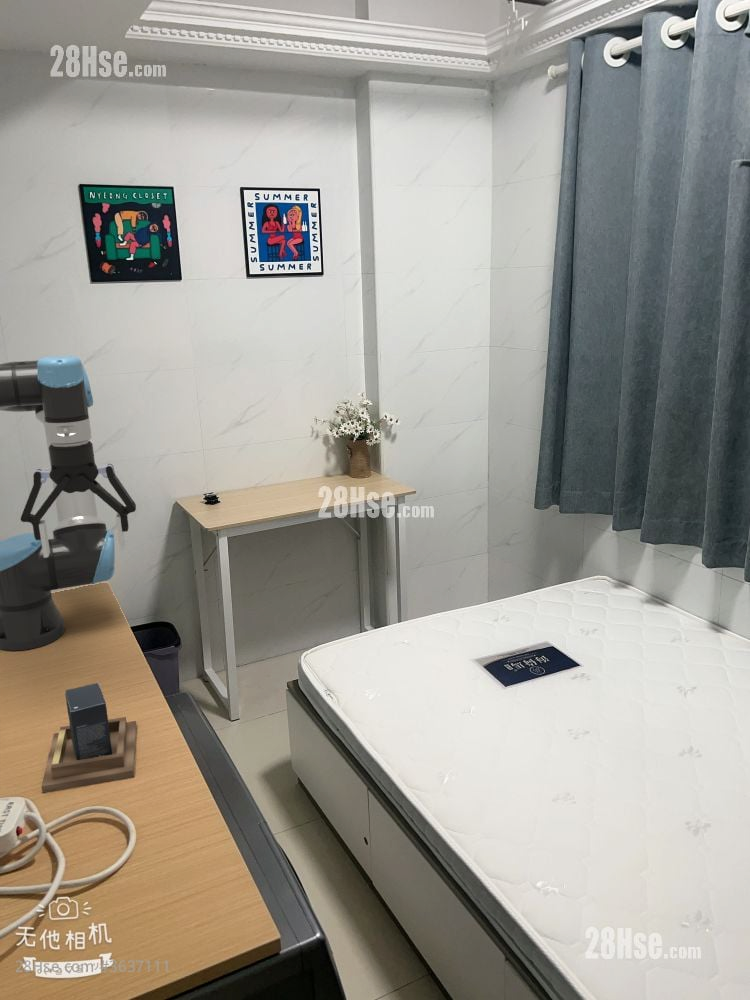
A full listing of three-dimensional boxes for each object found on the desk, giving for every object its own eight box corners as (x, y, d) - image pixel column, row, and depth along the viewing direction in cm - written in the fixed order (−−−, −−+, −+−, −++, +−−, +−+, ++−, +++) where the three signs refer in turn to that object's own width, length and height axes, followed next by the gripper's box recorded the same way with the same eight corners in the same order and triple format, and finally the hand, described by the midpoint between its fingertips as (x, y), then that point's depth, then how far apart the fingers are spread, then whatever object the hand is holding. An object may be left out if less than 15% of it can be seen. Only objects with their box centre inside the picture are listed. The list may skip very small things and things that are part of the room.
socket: (54, 739, 134) (52, 723, 133) (136, 726, 137) (134, 711, 136) (42, 792, 120) (39, 775, 119) (133, 776, 123) (131, 760, 122)
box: (113, 757, 126) (106, 702, 123) (78, 768, 124) (69, 712, 121) (105, 734, 133) (98, 681, 130) (72, 743, 130) (63, 689, 127)
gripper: (-9, 451, 131) (10, 565, 137) (140, 441, 137) (152, 550, 143) (0, 443, 138) (18, 551, 144) (141, 433, 144) (153, 538, 150)
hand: (85, 551), depth 143 cm, fingers open, 13 cm apart
